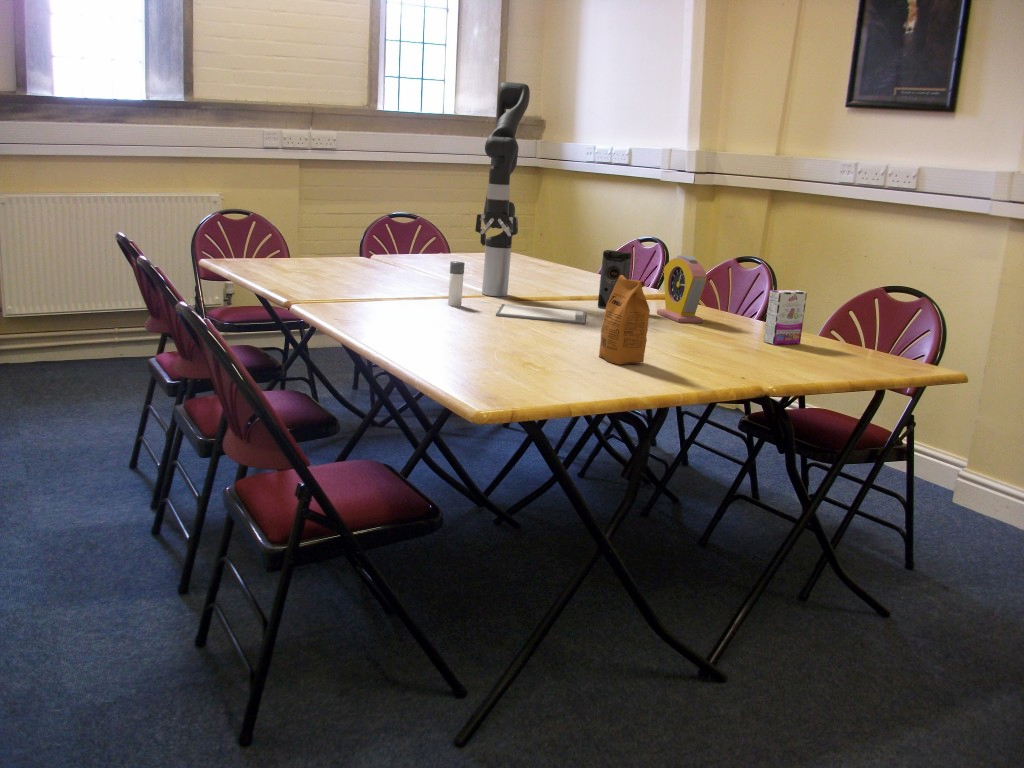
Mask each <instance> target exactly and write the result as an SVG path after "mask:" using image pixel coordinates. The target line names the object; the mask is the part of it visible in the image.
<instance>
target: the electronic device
mask: <svg viewBox="0 0 1024 768" xmlns="http://www.w3.org/2000/svg"><path fill="white" fill-rule="evenodd" d="M631 259H632V252H629V251H621V250H613V249H612V250H611V249H605V250H603V252H602V260H601V270H600V279H599V289H598V300H597V308H598V309H603V310H606V306H607V303H608V300H609V298H610V295H611V293H612V291H613V289H614V286H615V285H616V283H617V281H618V278H619V276H620V275H623V276H624V277H625V278H626V279H627V280H628V279H629V280H630V274H631V262H632V261H631Z"/></svg>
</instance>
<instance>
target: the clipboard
mask: <svg viewBox="0 0 1024 768" xmlns="http://www.w3.org/2000/svg"><path fill="white" fill-rule="evenodd" d="M495 316H496V317H502V318H513V319H522V320H523V319H525V320H532V321H533V320H534V321H535V320H536V321H544V322H545V321H546V322H556V323H566V324H574V325H575V324H576V325H585V322H586V311H585V310H584V311H581V310H572V309H564V308H563V309H562V308H561V309H560V308H551V307H542V306H541V307H540V306H539V307H538V306H531V305H530V306H529V305H518V304H507V303H502V304H501V306H500V307H499V309H498V310H497V312H496V313H495Z"/></svg>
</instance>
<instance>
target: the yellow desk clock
mask: <svg viewBox="0 0 1024 768" xmlns="http://www.w3.org/2000/svg"><path fill="white" fill-rule="evenodd" d="M663 278H664V279H663V282H664V301H665V303H664V304H665V308H664V309H663V308H662V309H661V308H658V309H657V310H656V314H657V315H659V316H662V317H664V318H666V319H669V320H671V321H674V322H676V323H678V324H702V323H704V319H703V318H702V317H700V316H697V315H696V312H697V310H698V307H699V303H700V301H701V297H702V295H703V292H704V289H705V285H706V282H707V280H708V276H707V274H706V270H705V269H704V267H703V265H702V264H701V263H700V262H699V261H698V260H697V259H696V258H695V257H694V256H693V255H684V254H683V255H682V254H681V255H677V256H676V257H675V258H672V259H670V260H669V261H668V262H667V263H666V264H665V266H664V267H663Z"/></svg>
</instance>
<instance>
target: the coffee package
mask: <svg viewBox="0 0 1024 768" xmlns="http://www.w3.org/2000/svg"><path fill="white" fill-rule="evenodd" d="M645 286H646V284H645V282H644V281H643V280H636V279H630V278H629V279H628V280H627V279H626V278H625V277H624V276H623V275H620V276H619V278H618V281H617V283H616V285H615V286H614V289H613V291H612V293H611V295H610V298H609V300H608V303H607V306H606V309H604V315H603V318H602V319H603V320H602V324H601V328H600V343H599V352H598V353H599V354H598V358H602V359H604V360H605V361H606V362H607V363H611V364H615V365H619V366H621V365H622V366H623V365H627V364H639V363H644V360H645V353H646V346H647V341H648V340H647V336H648V335H647V333H648V331H649V330H648V327H649V318H650V311H651V310H650V307H649V303H648V300H647V298H646V296H645V294H644V290H643V287H644V288H645Z"/></svg>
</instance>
